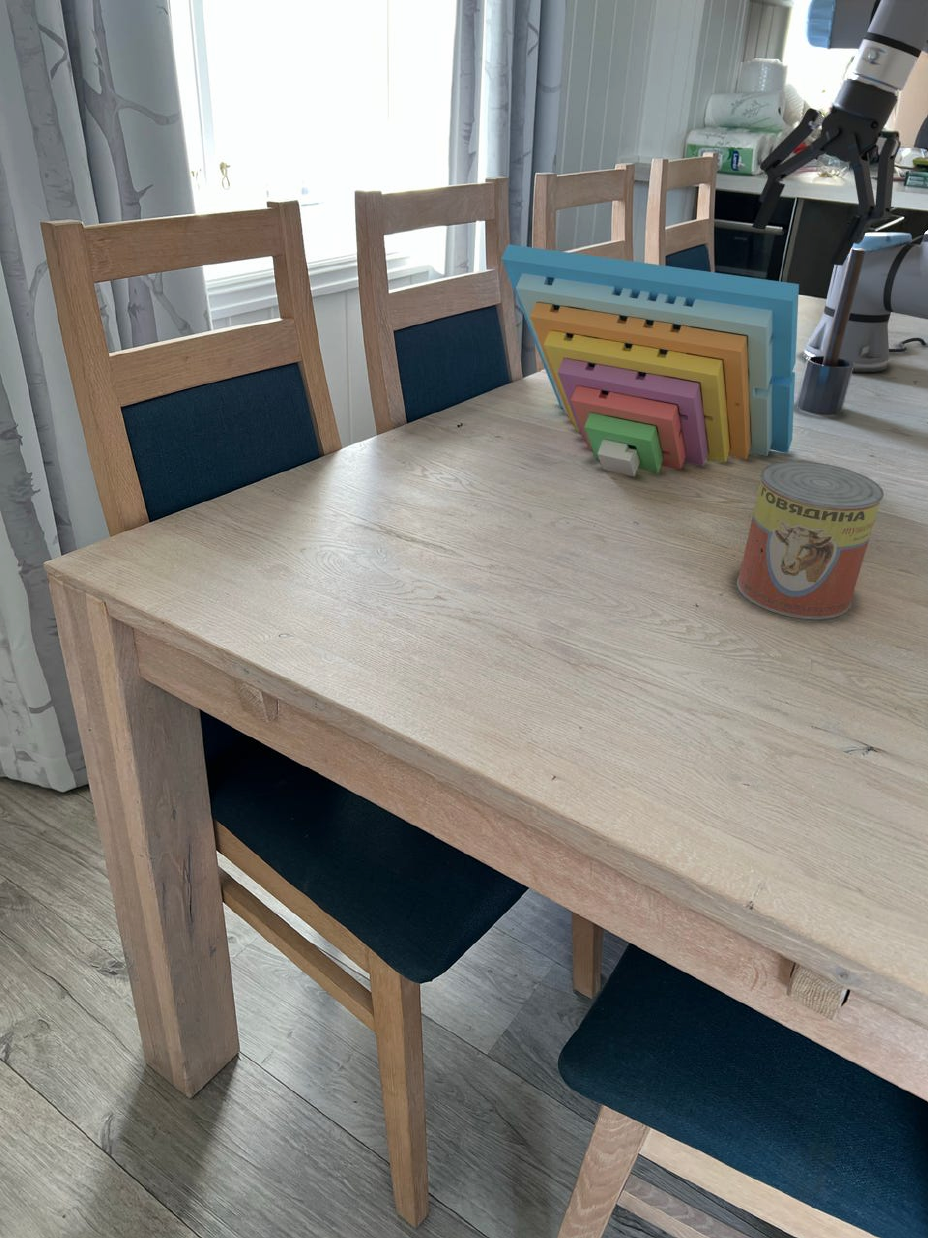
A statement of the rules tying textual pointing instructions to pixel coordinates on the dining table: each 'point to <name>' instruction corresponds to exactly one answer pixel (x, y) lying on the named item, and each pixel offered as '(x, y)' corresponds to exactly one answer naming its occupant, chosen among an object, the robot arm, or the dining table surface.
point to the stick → (843, 306)
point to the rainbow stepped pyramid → (661, 356)
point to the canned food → (808, 539)
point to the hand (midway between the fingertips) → (796, 245)
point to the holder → (824, 386)
